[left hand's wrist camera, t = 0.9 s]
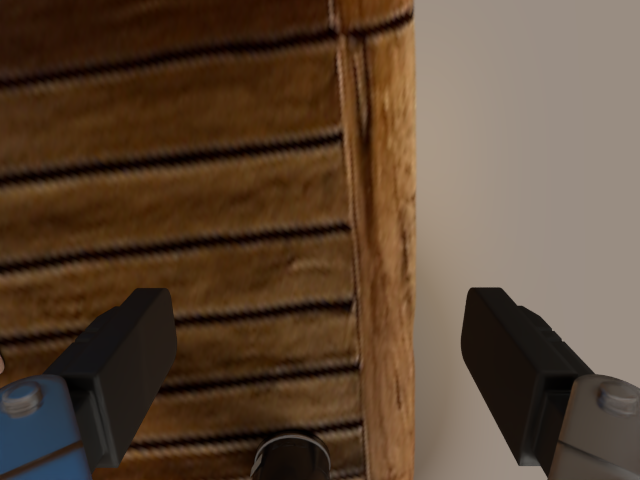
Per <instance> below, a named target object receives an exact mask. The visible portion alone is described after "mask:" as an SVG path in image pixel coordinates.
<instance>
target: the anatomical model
mask: <svg viewBox="0 0 640 480" xmlns="http://www.w3.org/2000/svg"><path fill="white" fill-rule="evenodd" d="M3 370H4V362H3V359H2V357H1V355H0V374H1V373H2V372H3Z"/></svg>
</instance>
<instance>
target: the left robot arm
mask: <svg viewBox="0 0 640 480" xmlns="http://www.w3.org/2000/svg"><path fill="white" fill-rule="evenodd" d="M176 351H177V336H176V329H175V322H174V315H173V308H172V302H171V296H170V292H169V290H168V289H166V288H137V289H135V290H134V291H133V293H132V294H131V295H130V296H129V297H128V298H127V299H126V300H125V301H124V302H123V304H122V305H121V306H120V307H114V308H112V309H110V310H108V311H107V312H105V313H103V314H102V315H100V316H98V317H97V318H96V319H95V320H94V321H93V322H92V323H91V324H90V325H89V326H88V327H87V328H86V329H85V332H82V333H81V334H80V335H79V336H78V337H77V339H76V340H75V343H72V344H71V345H70V346H69V347H68V348H67V349H66V350H65V351H64V352H63V353H62V354H61V355H60V356H59V357H58V358H57V359H56V360H55V361H54V362H53V363H52V364H51V366H50V367H49V368H48V369H47V370H46V371H45V372H44V373H43V374H42V375H35V376H30V377H26V378H23V379H20V380H17V381H15V382H12V383H10V384H8V385H6V386H4V387H2V388H0V480H92V476H91V475H92V473H93V471H94V470H95V468H118V466H119V464H120V462H121V461H122V459H123V457H124V455H125V453H126V451H127V449H128V447H129V445H130V444H131V442H132V440H133V438H134V436H135V434H136V432H137V430H138V428H139V427H140V425H141V423H142V421H143V419H144V417H145V415H146V413H147V411H148V410H149V408H150V406H151V404H152V402H153V400H154V398H155V396H156V394H157V393H158V391H159V389H160V387H161V385H162V383H163V381H164V379H165V377H166V376H167V374H168V372H169V370H170V368H171V366H172V364H173V362H174V360H175V356H176ZM461 351H462V356H463V359H464V362H465V364H466V366H467V368H468V369H469V371H470V373H471V375H472V377H473V379H474V381H475V383H476V385H477V387H478V389H479V391H480V392H481V394H482V396H483V398H484V400H485V402H486V404H487V406H488V408H489V410H490V412H491V413H492V415H493V417H494V419H495V421H496V423H497V425H498V427H499V429H500V431H501V433H502V434H503V436H504V438H505V440H506V442H507V444H508V446H509V448H510V450H511V452H512V454H513V456H514V457H515V459H516V461H517V463H518V465H519V466H541V467H542V469H543V471H544V472H545V474H546V476H547V478H548V480H640V388H638V387H636V386H634V385H632V384H630V383H628V382H625V381H623V380H620V379H617V378H614V377H610V376H605V375H598V374H595V373H594V372H593V371H592V370H591V369H590V368H589V367H588V366H587V365H586V364H585V363H584V362H583V361H582V360H581V359H580V358H579V357H578V355H577V354H576V353H575V352H574V351H573V350H572V349H571V348H570V347H569V346H568V345H567V344H566V343H565V342H562V339H561V338H560V337H559V336H558V335H557V334H556V332H555V331H552V328H551V327H550V326H549V325H548V324H547V323H546V322H545V321H544V320H543V319H542V318H541V317H540V316H539V315H537V314H535V313H534V312H532V311H530V310H528V309H527V308H525V307H523V306H517V305H516V304H515V302H514V301H513V300H512V299H511V298H510V297H509V296H508V295H507V294H506V292H505V291H504V290H503V289H502V288H470V289H469V291H468V294H467V299H466V306H465V313H464V320H463V327H462V334H461ZM253 473H254V474H253ZM252 474H253V480H330V454H329V451H328V449H327V447H326V445H325V444H324V443H323V442H322V441H321V440H320V439H318V438H317V437H315V436H313V435H311V434H308V433H305V432H301V431H283V432H279V433H276V434H273V435H271V436H269V437H268V438H266V439H265V440H264V441H263V442H262V443H261V444H260V445H259V447H258V449H257V452H256V457H255V464H254V466H253V467H252V470H251V476H252ZM251 476H250V477H251Z"/></svg>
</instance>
